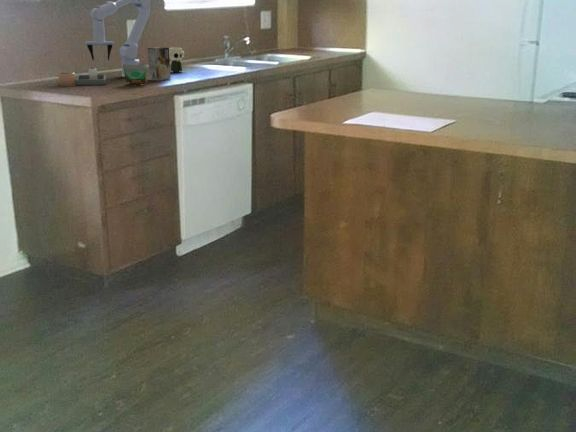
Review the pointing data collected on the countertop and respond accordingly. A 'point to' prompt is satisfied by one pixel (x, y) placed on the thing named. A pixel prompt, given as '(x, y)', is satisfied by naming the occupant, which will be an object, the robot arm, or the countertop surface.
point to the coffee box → (159, 63)
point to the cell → (93, 73)
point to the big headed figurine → (176, 58)
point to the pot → (67, 79)
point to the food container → (135, 74)
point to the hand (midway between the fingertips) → (100, 59)
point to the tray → (85, 80)
